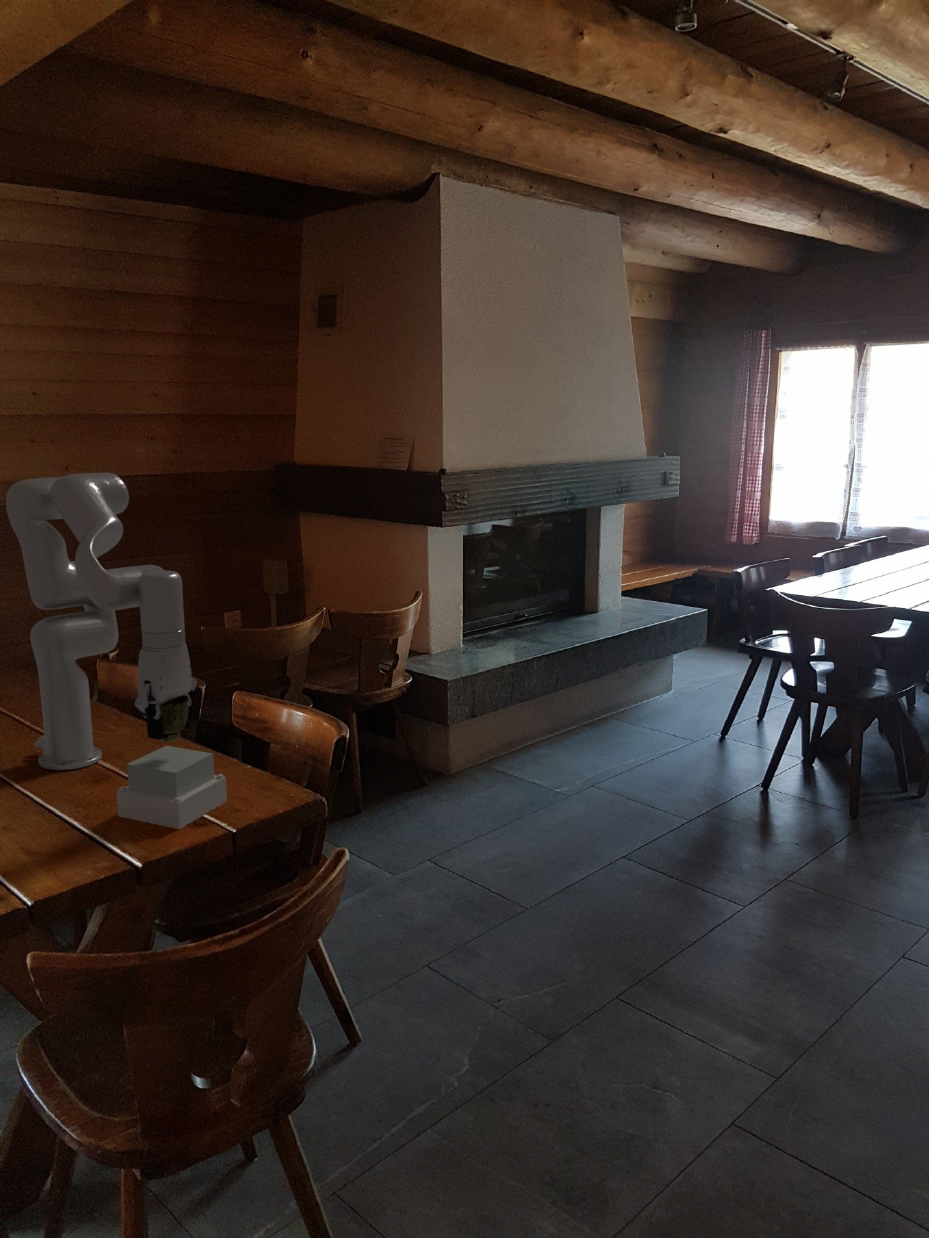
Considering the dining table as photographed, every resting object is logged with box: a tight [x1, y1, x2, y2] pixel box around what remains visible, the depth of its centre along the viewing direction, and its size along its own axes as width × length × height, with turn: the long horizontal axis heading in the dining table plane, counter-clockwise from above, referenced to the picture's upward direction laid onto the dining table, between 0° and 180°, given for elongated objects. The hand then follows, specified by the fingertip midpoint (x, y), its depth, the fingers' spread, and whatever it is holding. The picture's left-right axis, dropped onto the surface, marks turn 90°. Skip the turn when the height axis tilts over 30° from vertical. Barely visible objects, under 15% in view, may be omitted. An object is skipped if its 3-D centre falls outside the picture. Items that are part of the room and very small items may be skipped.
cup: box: [151, 695, 189, 743], centre depth 181 cm, size 8×7×8 cm
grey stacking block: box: [116, 745, 228, 830], centre depth 184 cm, size 14×14×10 cm
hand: (169, 731), depth 182 cm, fingers closed on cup, 6 cm apart
